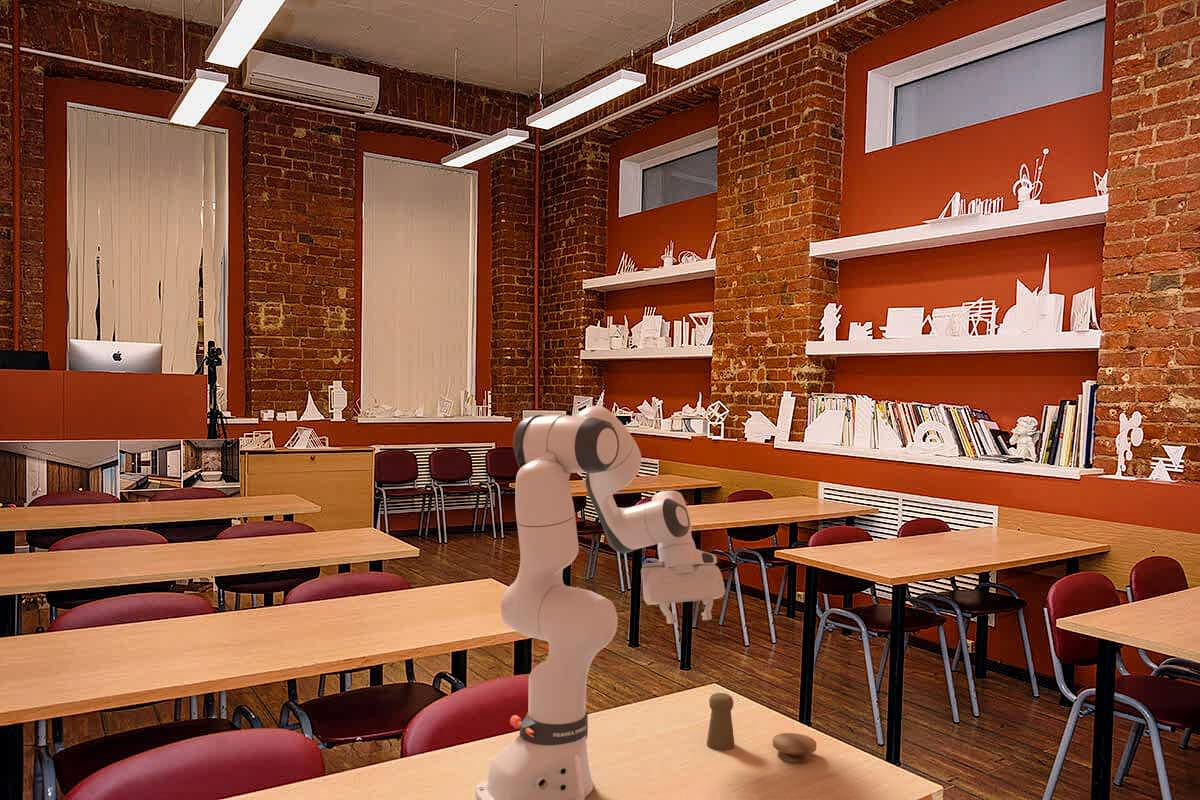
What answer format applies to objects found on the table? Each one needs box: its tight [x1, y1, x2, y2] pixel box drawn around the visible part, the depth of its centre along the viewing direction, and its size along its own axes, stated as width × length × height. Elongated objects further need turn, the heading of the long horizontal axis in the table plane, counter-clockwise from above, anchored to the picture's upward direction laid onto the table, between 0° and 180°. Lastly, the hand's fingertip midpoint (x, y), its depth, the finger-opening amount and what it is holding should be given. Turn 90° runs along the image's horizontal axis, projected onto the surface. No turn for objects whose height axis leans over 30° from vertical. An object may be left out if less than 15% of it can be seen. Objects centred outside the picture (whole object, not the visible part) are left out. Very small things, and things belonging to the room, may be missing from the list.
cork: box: [706, 692, 736, 752], centre depth 187 cm, size 6×6×11 cm
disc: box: [772, 732, 817, 764], centre depth 181 cm, size 9×9×3 cm
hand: (689, 621), depth 195 cm, fingers open, 8 cm apart
